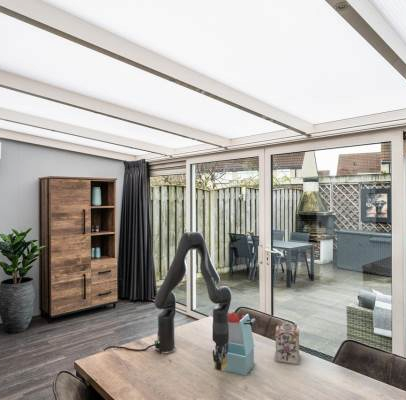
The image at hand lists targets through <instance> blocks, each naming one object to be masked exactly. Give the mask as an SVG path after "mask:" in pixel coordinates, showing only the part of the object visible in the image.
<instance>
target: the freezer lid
mask: <svg viewBox="0 0 406 400" xmlns="http://www.w3.org/2000/svg"><path fill="white" fill-rule="evenodd" d="M244 315H245V316H244V317H243V318H242V319H241V320H240V321H239V323H240V329H241V335H242V340H243V346H244V352H245V356H247V355H248V354H249V352H250V351H251V350H252V349H253V347H254V348H255V341H254V337H253V336H254V335H253V330H252V326H254V324H255V323H256V322H257V319H256V318H252V319H250V314H249V313H247V314H244Z"/></svg>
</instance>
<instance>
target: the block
mask: <svg viewBox="0 0 406 400" xmlns="http://www.w3.org/2000/svg"><path fill="white" fill-rule="evenodd" d="M219 359H220V357H219ZM213 364H214V365H213V366H214V370H217V369H216V362H214V361H213ZM226 368H227V357H224V356H223V357H222V358H221V370H220V371H221V372H225V369H226Z"/></svg>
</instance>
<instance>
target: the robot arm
mask: <svg viewBox="0 0 406 400" xmlns="http://www.w3.org/2000/svg"><path fill="white" fill-rule="evenodd" d="M195 250H196V251H197V253H198V254H199V258H200V263H199V270H200V273H201V276H202V277H203V280H204V282H205V284H206V289H207V295H208V298H209V300H210V302H211V303H212V304H214V305H217V304H218V305H217V306H216V307H214V308H213V309H212V341H213V343H215V346H214V349H212V351H211V352H212V359H213V363H214V362H216V369H215V370H216V371H221V358H222V357H223V356H224V357H226V354H227V352H228V341H229V324H228V313H229V310H230V306H231V302H232V291H231V289H230V288H229V286H226V285H223V286H217V284H218V283H220V281H221V279H220V276H219V273H218V272H217V269H216V268H215V265H214V264H213V261H212V259H211V255H210V252H209V250H208V247H207V244H206V241H205V238H204V235H203V234H202V233H201V232H199V231H185V232H183V234H181V237H180V239H179V242H178V245H177V248H176V251H175V254H174V257H173V259H172V262H171V263H170V266H169V268H168V270H167V273H166V275H165V277H164V279H163V281H162V284H161V286H160V287H159V289H158V291H156V294H155V297H154V306H155V308H156V309H157V310H162V311H161V312H159V313H158V315H157V340H154V344H151V345H148V346H147V347H145V348H141V349H139V348H131V347H126V346H118V345H110V346H109V345H108V346H107V347H105V348H104V349H103V352H105V351H107V350H108V349H124V350H127V351H134V352H145V351H147V350H148V349H150V348H152V347H155V349H157V351H158V354H160V355H161V354H162V355H169V354H173V353H174V352H175V350H176V347H175V346H176V345H175V316H176V306H177V299H176V298H177V297H176V294H175V293H174V290H175V289H176V288H177V287H178V286H179V285H180V284H181V283H182V281H183V280H184V279H185V277H186V274H187V272H188V266H187V264H188V263H187V261H186V259H187V255H188V253H189V252H190V251H195ZM219 354H220V355H219ZM219 357H220V359H219Z"/></svg>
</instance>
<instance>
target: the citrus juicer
mask: <svg viewBox="0 0 406 400" xmlns="http://www.w3.org/2000/svg"><path fill="white" fill-rule="evenodd" d="M245 315H246V314H242V315H241V316H240V317H239V315H238V314H237V313H236V312H235V311H233V312H228V324H229V341H228V342H230V343H235V344H240V345H243V340H242V335H241V329H240V323H239V321H240V320H241V319H242V318H243V317H244V316H245Z"/></svg>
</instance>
